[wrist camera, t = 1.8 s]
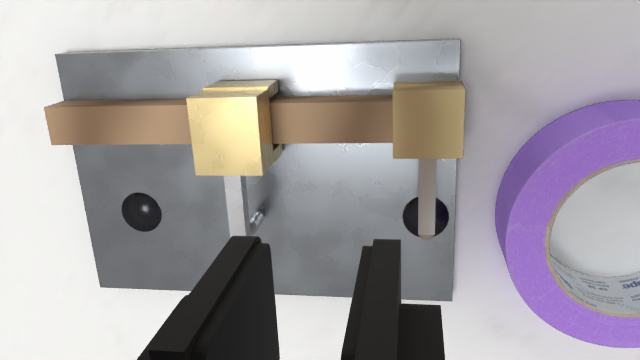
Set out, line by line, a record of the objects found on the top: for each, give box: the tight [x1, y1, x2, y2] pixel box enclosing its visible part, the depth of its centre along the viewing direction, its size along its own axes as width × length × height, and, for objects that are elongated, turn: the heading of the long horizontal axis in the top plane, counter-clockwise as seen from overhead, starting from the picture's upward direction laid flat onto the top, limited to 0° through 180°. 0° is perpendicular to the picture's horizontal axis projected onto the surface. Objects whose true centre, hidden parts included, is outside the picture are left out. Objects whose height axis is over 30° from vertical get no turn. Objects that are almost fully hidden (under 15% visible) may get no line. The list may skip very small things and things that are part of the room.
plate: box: [55, 39, 460, 301], centre depth 31 cm, size 21×14×1 cm, turn 93°
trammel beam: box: [44, 81, 465, 240], centre depth 29 cm, size 21×7×2 cm, turn 93°
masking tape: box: [495, 100, 640, 348], centre depth 27 cm, size 12×12×4 cm
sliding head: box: [186, 80, 283, 238], centre depth 28 cm, size 3×8×4 cm, turn 3°
